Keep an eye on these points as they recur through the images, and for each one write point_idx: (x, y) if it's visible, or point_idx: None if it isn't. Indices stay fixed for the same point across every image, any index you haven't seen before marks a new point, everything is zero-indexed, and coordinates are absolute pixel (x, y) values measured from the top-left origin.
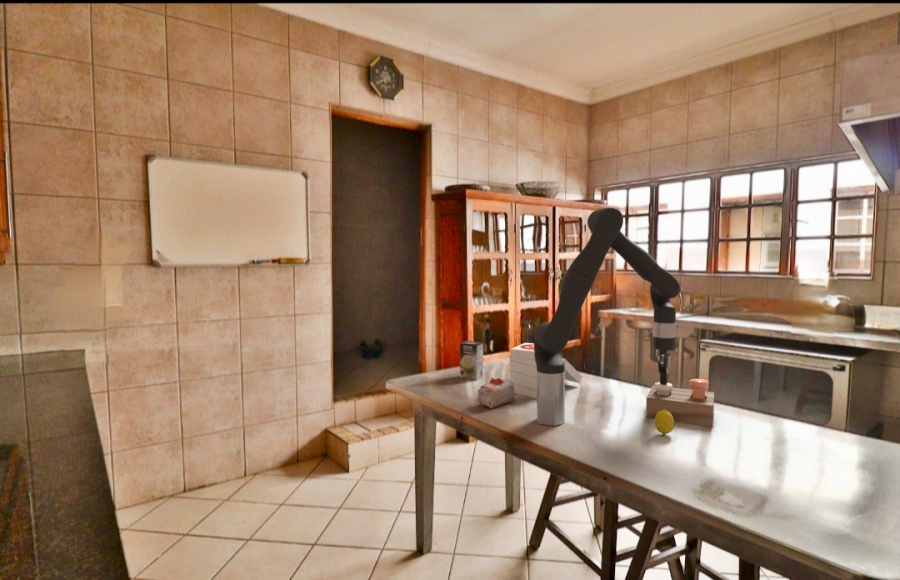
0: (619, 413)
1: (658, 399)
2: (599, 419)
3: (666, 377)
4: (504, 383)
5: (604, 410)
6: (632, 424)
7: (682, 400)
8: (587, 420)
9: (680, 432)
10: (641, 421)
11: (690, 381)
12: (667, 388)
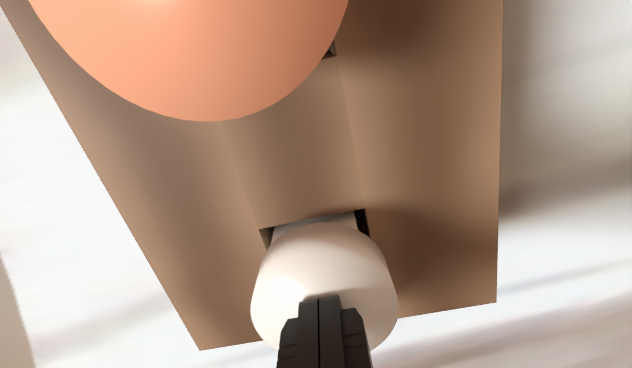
0: (441, 314)
1: (494, 239)
2: (549, 337)
3: (344, 362)
4: None
5: (433, 358)
6: (564, 238)
7: (459, 90)
8: (577, 357)
9: (611, 17)
10: (506, 224)
11: (294, 88)
12: (377, 260)
